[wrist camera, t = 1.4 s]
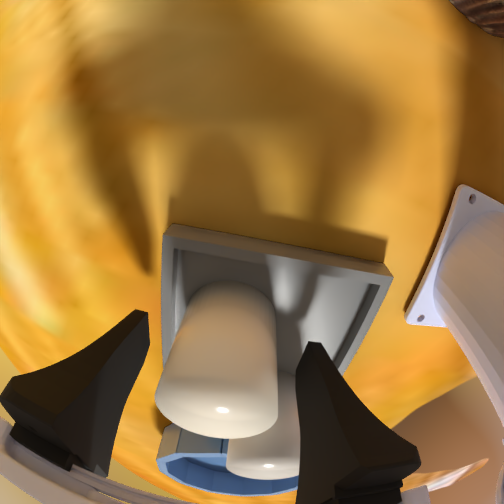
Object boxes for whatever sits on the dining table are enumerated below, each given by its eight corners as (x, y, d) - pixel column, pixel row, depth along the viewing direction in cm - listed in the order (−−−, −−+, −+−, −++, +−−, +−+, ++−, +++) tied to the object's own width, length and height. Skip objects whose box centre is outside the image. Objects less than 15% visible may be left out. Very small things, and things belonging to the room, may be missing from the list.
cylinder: (313, 374, 15) (323, 455, 10) (293, 411, 17) (296, 480, 12) (240, 365, 15) (231, 450, 10) (230, 404, 17) (222, 475, 12)
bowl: (333, 422, 19) (339, 458, 16) (287, 473, 25) (287, 498, 22) (161, 400, 18) (149, 437, 15) (169, 457, 24) (163, 482, 21)
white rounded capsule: (285, 289, 13) (293, 387, 8) (265, 355, 15) (263, 443, 10) (189, 272, 13) (150, 361, 8) (185, 340, 15) (159, 425, 10)
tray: (383, 263, 13) (393, 277, 11) (305, 414, 18) (307, 428, 17) (172, 223, 12) (162, 234, 11) (170, 394, 18) (166, 408, 17)
